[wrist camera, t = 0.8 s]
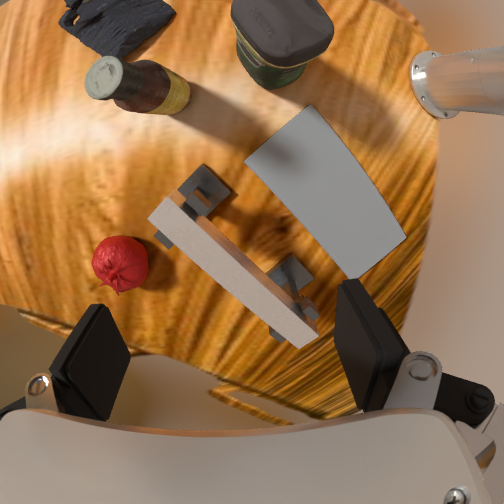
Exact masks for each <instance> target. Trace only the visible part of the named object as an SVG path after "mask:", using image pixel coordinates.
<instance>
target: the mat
mask: <svg viewBox="0 0 504 504" xmlns="http://www.w3.org/2000/svg"><path fill="white" fill-rule="evenodd" d="M244 162H245V163H246V164H247V165H248V166H249V167H250V169H251V170H252V171H253V172H254V173H255V174H256V175H257V176H258V177H259V178H260V179H261V180H262V181H263V182H264V183H265V184H266V185H267V186H268V187H269V188H270V189H271V190H272V192H273V193H274V194H275V195H276V196H277V197H278V198H279V199H280V200H281V201H282V202H283V203H284V204H285V206H286V207H287V208H288V209H289V210H290V211H291V212H292V213H293V214H294V215H295V217H296V218H297V219H298V220H299V221H300V222H301V223H302V224H303V225H304V227H305V228H306V229H307V230H308V231H309V232H310V233H311V234H312V236H313V237H314V238H315V239H316V240H317V241H318V242H319V244H320V245H321V246H322V247H323V248H324V249H325V251H326V252H327V253H328V254H329V255H330V256H331V258H332V259H333V260H334V261H335V262H336V263H337V265H338V266H339V267H340V268H341V269H342V271H343V272H344V273H345V274H346V275H347V277H348V278H349V279H354V278H359V277H360V276H361V275H363V274H364V273H365V272H366V271H368V270H369V269H370V268H371V267H372V266H374V265H375V264H376V263H377V262H379V261H380V260H381V259H382V258H383V257H385V256H386V255H387V254H388V253H389V252H391V251H392V250H393V249H394V248H395V247H396V246H398V245H399V244H400V243H401V242H402V241H403V240H404V239H406V238H407V237H406V235H405V234H404V232H403V230H402V228H401V227H400V225H399V223H398V222H397V220H396V218H395V217H394V215H393V213H392V212H391V210H390V209H389V207H388V205H387V204H386V202H385V201H384V199H383V198H382V196H381V195H380V193H379V192H378V190H377V189H376V187H375V186H374V184H373V183H372V181H371V180H370V178H369V177H368V175H367V174H366V173H365V171H364V170H363V168H362V167H361V166H360V164H359V163H358V161H357V160H356V159H355V157H354V156H353V155H352V153H351V152H350V151H349V149H348V148H347V147H346V146H345V144H344V143H343V142H342V140H341V139H340V138H339V137H338V135H337V134H336V133H335V132H334V130H333V129H332V128H331V127H330V126H329V124H328V123H327V122H326V121H325V120H324V118H323V117H322V116H321V115H320V114H319V113H318V112H317V110H316V109H315V108H314V107H313V106H312V105H311V104H310V105H309V106H307V107H306V108H305V109H304V110H302V111H301V112H300V113H299V114H298V115H296V116H295V117H294V118H293V119H292V120H290V121H289V122H288V123H287V124H286V125H284V126H283V127H282V128H281V129H280V130H279V131H277V132H276V133H275V134H274V135H273V136H272V137H270V138H269V139H268V140H267V141H266V142H265V143H264V144H262V145H261V146H260V147H259V148H258V149H257V150H256V151H255V152H254V153H252V154H251V155H250V156H249V157H248V158H247V159H246V160H245V161H244Z"/></svg>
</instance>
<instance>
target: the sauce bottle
mask: <svg viewBox="0 0 504 504" xmlns="http://www.w3.org/2000/svg"><path fill="white" fill-rule="evenodd" d="M85 89H86V92H87V93H88V95H89V96H91V97H92V98H94V99H98V100H109V99H113V100H114V102H115V104H116V105H117V106H119V107H120V108H122V109H124V110H126V111H129V112H137V113H146V114H160V115H172V114H176V113H178V112H180V111H181V110H183V109H184V108H185V107H186V106H187V105H188V103H189V101H190V99H191V88H190V86H189V85H188V82H187V81H186V80H185V79H184V78H183V77H181V76H179V75H178V74H176V73H174V72H172V71H171V70H169V69H167V68H165V67H164V66H162V65H160V64H158V63H156V62H154V61H151V60H140V61H136V62H133V63H127V62H126V61H125V60H124V59H122V58H119V57H115V56H104V57H102V58H100V59H98V60H97V61H96V62H95V63H93V65H92V66H91V67H90V69H89V70H88V72H87V74H86V78H85Z"/></svg>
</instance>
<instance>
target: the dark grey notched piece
mask: <svg viewBox="0 0 504 504" xmlns="http://www.w3.org/2000/svg"><path fill="white" fill-rule="evenodd" d="M64 1H65V2H66V7H69V8H71V9H69V10H67V11H66V12H65V14H64V15H63V16H62V17H61V18H60V20H59V22H58V23H59V25H60V26H61V27H62V28H64V29H65V30H66V31H67V32H69V33H70V34H72V35H74V36H75V37H76V38H78V39H80V42H83V44H84V45H86V46H87V47H89V48H90V47H91V49H92V50H94V51H96V52H97V53H98V54H100V55H101V56H102V57H104V56H115V57H119V58H122V59H123V58H124V57H125V56H126V55H127V54H129V53H130V52H131V51H132V50H134V49H135V48H137V47H138V46H139V45H141V43H142V42H144V40H146V39H147V38H149V37H151V36H152V35H154V34H155V33H156V32H157V31H158V30H159V29H160V28H161V27H162V26H164V25H166V24H167V23H168V21H169V20H170V19H171V17H172V15H173V14H175V13H176V12H175V11H174V10H173V9H172V8H171V6H170V5H169V4H167V3H165V2H164V1H163V0H64ZM72 8H73V9H72ZM78 14H79V15H80V18H79V19H78V20H77V21H76V23H75V25H74V26H73V21H74V19H75V18H76V17H77V15H78Z"/></svg>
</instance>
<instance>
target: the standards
mask: <svg viewBox="0 0 504 504" xmlns="http://www.w3.org/2000/svg"><path fill="white" fill-rule="evenodd" d="M178 191H179V192H180V193H181V194H182V195H183V196H184V197H185V198H186V199H187V200H186V201H185V202H186V203H187V204H189V205H190V206H191V207H192V208H193V209H194V210H195V211H196V212H197V213H198V214H199V215H200V216H202V215H204V216H205V217H206V216H207V215H208V214H209V213H210V212H211V211H212V210H213V209H214V208H215V207H216V206H218V205H219V204H220V203H221V202H222V201H223V200H224V199H225V198H226V197H227V196H228V195H229V194H230V193H231V190H230V189H229V188H228V187H227V186H226V185H225V184H224V183H223V182H222V181H221V180H220V179H219V178H218V177H217V176H216V175H215V174H214V173H213V172H212V171H211V170H210V169H209V168H208V167H207V166H206V165H205V164H202V165H201V166H200V167H199V168H198V169H197V170H196V171H195V172H194V173H193V174H192V175H191V176H190V177H189V178H188V179H187V180H186V181H185V182H184V183H183V184H182V185H181V186H180V187H179V188H178ZM154 237H155V238H157V239H158V240H159V241H160V242H161V243H162V244H163V245H164V246H165V247H166V248H168V249H170V248H171V247H172V246H173V245H174V243H173V242H172V241H171V240H169V239H168V238H167V237H166V236H165V235H164V234H163V233H162V232H161V231H160V230H158V231H157V232H156V233H155V235H154ZM265 274H266V275H267V276H268V277H269V278H270V279H271V280H273V281H274V282H275V283H276V284H277V285H278V286H279V287H280V288H281V289H282V290H283V291H284V292H285V293H286V294H287V295H289V296H290V297H291V298H292V299H293V300H294V301H295V302H296V303H297V304H298V305H299V306H300V307H301V308H302V311H303V312H304V313H305V314H306V315H307V316H308V317H309V318H310V319H311V320H312V321H314V320H315V319H317V318H318V317H320V314H319V311H318V308H317V306H316V305H315V304H314V303H313V302H312V301H311V300H310V299H309V298H308V297H304V296H303V295H301V296H300V297H299V294H298V291H299V290H300V289H301V288H303V287H304V286H305V285H307V284H308V283H309V282H311V281H312V280H313V279H314V276H313V274H312V273H311V272H310V271H309V270H308V269H307V268H306V267H305V266H304V265H303V264H302V263H301V262H300V261H299V260H298V259H297V257H296V256H295V255H294V254H293V253H292V252H291V253H290V254H289V255H288V256H286V257H285V258H284V259H283V260H281V261H280V262H279V263H278V264H276V265H275V266H274V267H273V268H272V269H270V270H269V271H268V272H267V273H265ZM269 333H270V335H271V336H272V337H274V338H275V339H276V340H278V341H279V342H280V343H281V342H283V341H284V340H286V338H284V337H283V336H282V335H281V334H279V333H278V332H277V331H276V330H274V329H273V328H272V327H271V326H269Z"/></svg>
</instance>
